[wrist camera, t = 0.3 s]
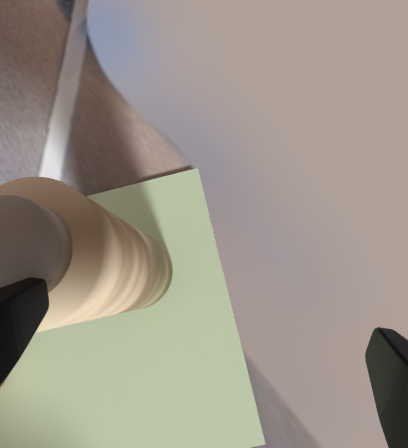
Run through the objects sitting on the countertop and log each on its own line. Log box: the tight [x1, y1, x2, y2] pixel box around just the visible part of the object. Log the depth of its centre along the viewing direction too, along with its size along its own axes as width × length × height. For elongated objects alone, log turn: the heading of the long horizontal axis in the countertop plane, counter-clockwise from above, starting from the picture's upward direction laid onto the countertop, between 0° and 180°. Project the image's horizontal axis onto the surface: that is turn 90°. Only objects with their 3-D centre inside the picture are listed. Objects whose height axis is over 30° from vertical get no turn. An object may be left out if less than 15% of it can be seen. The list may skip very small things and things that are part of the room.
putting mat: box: [0, 168, 265, 448], centre depth 23 cm, size 19×28×1 cm
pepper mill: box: [0, 177, 173, 333], centre depth 16 cm, size 5×5×14 cm
